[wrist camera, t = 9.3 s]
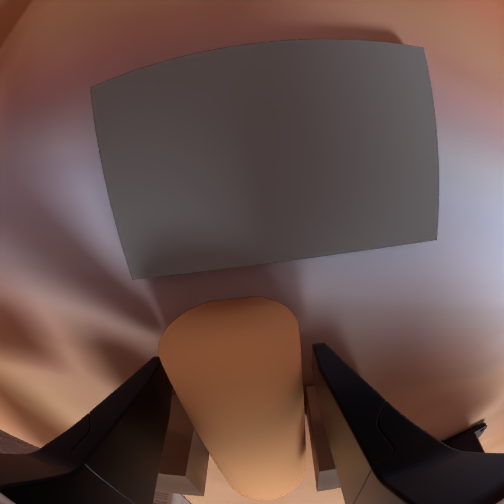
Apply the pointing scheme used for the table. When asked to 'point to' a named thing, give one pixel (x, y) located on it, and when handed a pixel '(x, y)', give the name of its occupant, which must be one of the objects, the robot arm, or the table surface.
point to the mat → (269, 154)
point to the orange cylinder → (242, 390)
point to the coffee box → (169, 498)
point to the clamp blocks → (196, 454)
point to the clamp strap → (14, 445)
